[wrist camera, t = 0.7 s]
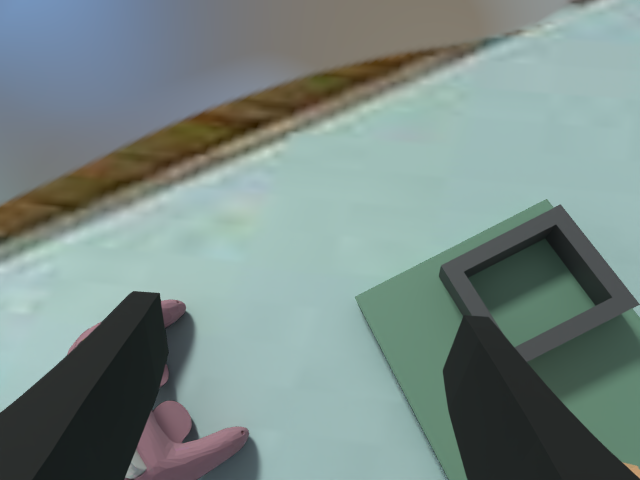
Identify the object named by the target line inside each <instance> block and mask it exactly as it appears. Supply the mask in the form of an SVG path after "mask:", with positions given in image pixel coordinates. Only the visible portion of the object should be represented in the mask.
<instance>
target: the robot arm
mask: <svg viewBox="0 0 640 480" xmlns="http://www.w3.org/2000/svg"><path fill="white" fill-rule="evenodd" d="M167 356H168V345H167V338H166V332H165V325H164V319H163V312H162V306H161V299H160V293H151V292H137V291H133V292H131V293H130V294H129V295H128V296H127V297H126V298H125V299H124V300H123V301H122V302H121V303H120V304H119V305H118V306H117V307H116V308H115V309H114V310H113V311H112V312H111V313H110V314H109V315H108V316H107V317H106V318H105V319H104V320H103V321H102V322H101V323H100V324H99V325H98V326H97V327H96V328H95V329H94V330H93V331H92V332H91V333H90V334H89V335H88V336H87V337H86V338H85V339H84V340H83V341H82V342H81V343H80V344H79V345H77V346H76V347H75V348H74V349H73V350H72V351H71V352H70V353H69V354H68V355H67V356H66V357H65V358H64V359H63V360H62V361H60V362H59V363H58V364H57V365H56V366H55V367H54V368H53V369H52V370H50V371H49V372H48V373H47V374H46V375H45V376H44V377H42V378H41V379H40V380H39V381H38V382H37V383H35V384H34V385H33V386H32V387H31V388H30V389H29V390H27V391H26V392H25V393H24V394H23V395H22V396H20V397H19V398H18V399H17V400H16V401H14V402H13V403H12V404H11V405H9V406H8V407H7V408H6V409H4V410H3V411H2V412H1V413H0V480H124V479H125V476H126V474H127V471H128V469H129V466H130V464H131V461H132V459H133V456H134V454H135V451H136V448H137V446H138V443H139V441H140V438H141V436H142V433H143V431H144V428H145V426H146V423H147V420H148V418H149V415H150V413H151V410H152V407H153V405H154V402H155V400H156V397H157V394H158V391H159V387H160V384H161V380H162V376H163V373H164V368H165V364H166V360H167ZM443 378H444V385H445V393H446V399H447V405H448V411H449V415H450V419H451V423H452V426H453V430H454V434H455V438H456V441H457V445H458V449H459V452H460V456H461V459H462V463H463V466H464V470H465V474H466V477H467V480H640V478H639V477H638V476H636V475H635V474H634V473H633V472H632V471H631V470H630V469H629V468H628V467H627V466H626V465H625V464H623V463H622V462H621V461H620V460H619V459H618V458H617V457H616V456H615V455H614V454H613V453H611V452H610V451H609V450H608V449H607V448H606V447H605V446H604V445H603V444H602V443H601V442H600V441H599V440H598V439H597V438H596V437H595V436H594V435H593V434H592V433H591V432H590V431H589V430H588V429H587V428H586V427H585V426H584V425H583V424H582V423H581V422H580V421H579V419H578V418H577V417H576V416H575V415H574V414H573V413H572V412H571V411H570V410H569V409H568V408H567V407H566V406H565V405H564V404H563V403H562V402H561V400H560V399H559V398H558V397H557V396H556V395H555V394H554V393H553V392H552V391H551V389H550V388H549V387H548V386H547V385H546V384H545V383H544V381H543V380H542V379H541V378H540V377H539V376H538V375H537V373H536V372H535V371H534V370H533V369H532V368H531V366H530V365H529V364H528V363H527V362H526V361H525V359H524V358H523V357H522V356H521V355H520V353H519V352H518V351H517V350H516V349H515V348H514V346H513V345H512V344H511V343H510V342H509V340H508V339H507V338H506V337H505V335H504V334H503V333H502V332H501V331H500V329H499V328H498V327H497V326H496V325H495V324H494V322H493V321H492V320H491V319H490V318H489V317H483V316H470V315H464V316H463V318H462V321H461V324H460V326H459V329H458V331H457V334H456V336H455V339H454V342H453V344H452V347H451V349H450V352H449V355H448V357H447V360H446V362H445V365H444V368H443Z"/></svg>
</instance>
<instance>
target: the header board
mask: <svg viewBox="0 0 640 480" xmlns="http://www.w3.org/2000/svg"><path fill="white" fill-rule="evenodd" d="M355 299H356V301H357V303H358V305H359V307H360V309H361V311H362V313H363V315H364V316H365V318H366V320H367V322H368V324H369V326H370V328H371V330H372V332H373V334H374V336H375V338H376V340H377V342H378V344H379V346H380V347H381V349H382V351H383V353H384V355H385V357H386V359H387V361H388V363H389V365H390V367H391V369H392V371H393V373H394V375H395V377H396V379H397V380H398V382H399V384H400V386H401V388H402V390H403V392H404V394H405V396H406V398H407V400H408V402H409V404H410V406H411V408H412V410H413V412H414V413H415V415H416V417H417V419H418V421H419V423H420V425H421V427H422V429H423V431H424V433H425V435H426V437H427V439H428V441H429V443H430V445H431V446H432V448H433V450H434V452H435V454H436V456H437V458H438V460H439V462H440V464H441V466H442V468H443V470H444V472H445V474H446V476H447V478H448V479H449V480H467V477H466V474H465V470H464V466H463V463H462V459H461V456H460V452H459V449H458V445H457V441H456V438H455V434H454V430H453V426H452V423H451V419H450V415H449V411H448V405H447V399H446V393H445V385H444V378H443V368H444V365H445V362H446V360H447V357H448V355H449V352H450V349H451V347H452V344H453V342H454V339H455V336H456V334H457V331H458V329H459V326H460V324H461V321H462V318H463V316H464V315H470V316H483V317H489V318H490V319H491V320H492V321H493V322H494V324H495V325H496V326H497V327H498V328H499V329H500V331H501V332H502V333H503V334H504V335H505V337H506V338H507V339H508V340H509V342H510V343H511V344H512V345H513V346H514V348H515V349H516V350H517V351H518V352H519V353H520V355H521V356H522V357H523V358H524V359H525V361H526V362H527V363H528V364H529V365H530V366H531V368H532V369H533V370H534V371H535V372H536V373H537V375H538V376H539V377H540V378H541V379H542V380H543V381H544V383H545V384H546V385H547V386H548V387H549V388H550V389H551V391H552V392H553V393H554V394H555V395H556V396H557V397H558V398H559V399H560V400H561V402H562V403H563V404H564V405H565V406H566V407H567V408H568V409H569V410H570V411H571V412H572V413H573V414H574V415H575V416H576V417H577V418H578V419H579V421H580V422H581V423H582V424H583V425H584V426H585V427H586V428H587V429H588V430H589V431H590V432H591V433H592V434H593V435H594V436H595V437H596V438H597V439H598V440H599V441H600V442H601V443H602V444H603V445H604V446H605V447H606V448H607V449H608V450H609V451H610V452H611V453H613V454H614V455H615V456H616V457H617V458H618V459H619V460H620V461H621V462H623V463H627V464H632V465H636V466H638V468H639V469H640V318H639V316H638V315H637V314H636V313H635V311H634V310H633V309H632V308H634V307H636V306H638V305H640V304H639V303H638V302H637V300H636V299H635V298H634V297H633V295H632V294H631V293H630V292H629V290H628V289H627V288H626V286H625V285H624V284H623V283H622V281H621V280H620V279H619V278H618V276H617V275H616V274H615V273H614V271H613V270H612V269H611V268H610V266H609V265H608V264H607V262H606V261H605V260H604V259H603V257H602V256H601V255H600V254H599V252H598V251H597V250H596V249H595V247H594V246H593V245H592V244H591V242H590V241H589V240H588V238H587V237H586V236H585V235H584V233H583V232H582V231H581V230H580V228H579V227H578V226H577V225H576V223H575V222H574V221H573V220H572V218H571V217H570V216H569V214H568V213H567V212H566V211H565V209H564V208H563V207H562V206H561V204H560V205H558V206H556V207H554V208H553V206H552V205H551V204H550V202H549V201H548V200H547V199H546V200H544V201H542V202H540V203H538V204H536V205H534V206H532V207H530V208H528V209H526V210H524V211H522V212H520V213H518V214H516V215H514V216H513V217H511V218H509V219H507V220H505V221H503V222H501V223H499V224H497V225H495V226H493V227H491V228H489V229H487V230H485V231H483V232H481V233H479V234H477V235H475V236H473V237H471V238H469V239H467V240H465V241H464V242H462V243H460V244H458V245H456V246H454V247H452V248H450V249H448V250H446V251H444V252H442V253H440V254H438V255H436V256H434V257H432V258H430V259H428V260H426V261H424V262H422V263H420V264H418V265H416V266H415V267H413V268H411V269H409V270H407V271H405V272H403V273H401V274H399V275H397V276H395V277H393V278H391V279H389V280H387V281H385V282H383V283H381V284H379V285H377V286H375V287H373V288H371V289H369V290H367V291H366V292H364V293H362V294H360V295H358V296H356V297H355Z"/></svg>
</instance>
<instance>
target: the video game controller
mask: <svg viewBox="0 0 640 480" xmlns="http://www.w3.org/2000/svg"><path fill="white" fill-rule="evenodd" d="M161 306H162V312H163V319H164V325H165V328H166V327H168V326H169V325H171V324H172V323H174V322H176V321H177V320H178V319H179V318H180V317H181V316H182V315H184V313H185V310H186V305H185V304H184V303H183V302H181V301H178V300H164V301H161ZM100 323H101V322H100ZM100 323H98V324H96V325H95V326H93V327H91V328H90V329H88V330H86V331H85V332H84V333H82V334H81V335H80V337H79V338H78V339H77V340H76V341H75V342H74V344H73V345H72V346H71V348H70V349H69V351H68V354H69V353H70V352H71V351H72V350H73V349H74V348H75V347H76V346H77V345H79V344H80V343H81V342H82V341H83V340H84V339H85V338H86V337H87V336H88V335H89V334H90V333H91V332H92V331H93V330H94V329H95V328H96V327H97V326H98V325H99V324H100ZM68 354H67V355H68ZM168 377H169V371H168V367H167V365H166V364H165V368H164V373H163V376H162V380H161V384H160V387H162V386H163V385H164V384H165V383H166V382H167V380H168ZM160 387H159V388H160ZM191 426H192V422H191V417H190V415H189V413H188V411H187V410H186V409H185V408H184V407H183V406H182V405H181V404H180V403H178V402H175V401H165V402H163V403H161V404H160V405H158V406H157V407H156V408H155V409H154V410H153V411H152V410H151V413H150V415H149V418H148V420H147V423H146V426H145V428H144V431H143V433H142V436H141V438H140V441H139V443H138V446H137V448H136V451H135V454H134V456H133V459H132V461H131V464H130V466H129V469H128V471H127V474H126V476H125V479H124V480H197V479H199V478H200V477H202V476H203V475H205V474H206V473H208V472H210V471H211V470H213V469H214V468H215V467H217V466H218V465H220V464H221V463H223V462H224V461H226V460H227V459H229V458H230V457H231V456H233V455H234V454H235V453H237V452H238V451H239V450H240V449H241V448H242V447H243V446H244V444H245V443H246V441H247V439H248V436H249V431H248V429H247V428H244V427H231V428H226V429H223V430H220V431H218V432H216V433H213V434H211V435H208V436H206V437H203V438H201V439H198V440H194V441H190V442H186V443H182V441H183V440H184V438H185V437H186V436H187V434H188V433H189V432H190V429H191Z"/></svg>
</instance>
